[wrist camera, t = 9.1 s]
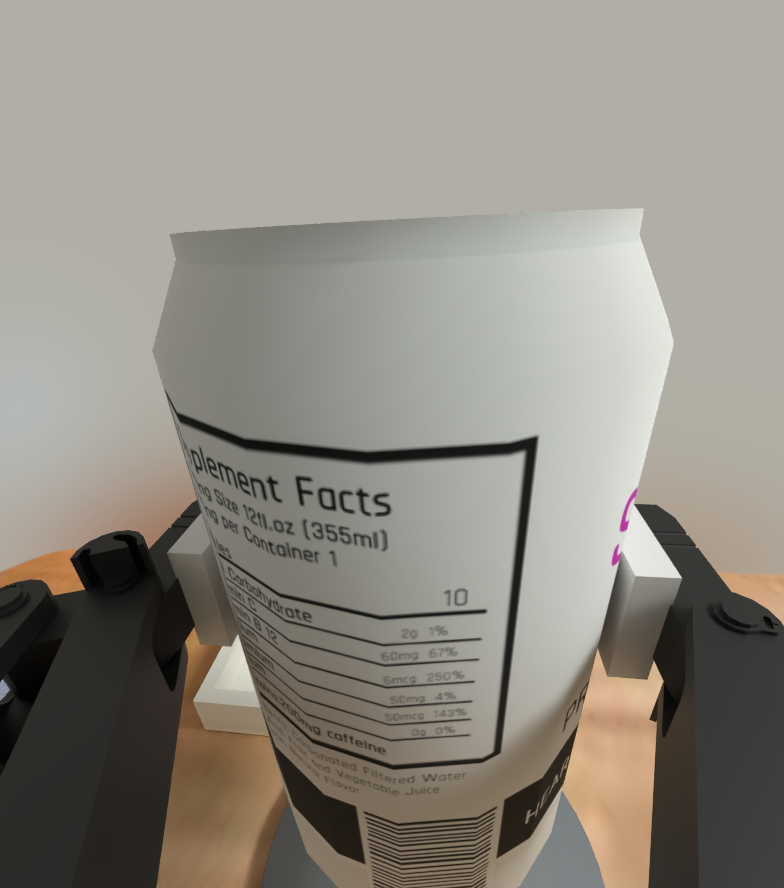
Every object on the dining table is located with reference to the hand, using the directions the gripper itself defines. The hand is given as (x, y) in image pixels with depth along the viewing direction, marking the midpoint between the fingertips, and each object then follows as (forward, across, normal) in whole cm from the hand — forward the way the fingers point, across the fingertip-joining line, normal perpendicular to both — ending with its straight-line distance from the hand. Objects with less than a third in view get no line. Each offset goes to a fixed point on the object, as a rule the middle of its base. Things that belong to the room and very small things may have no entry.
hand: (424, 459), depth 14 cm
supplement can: (-5, 0, -8) cm, 9 cm away
